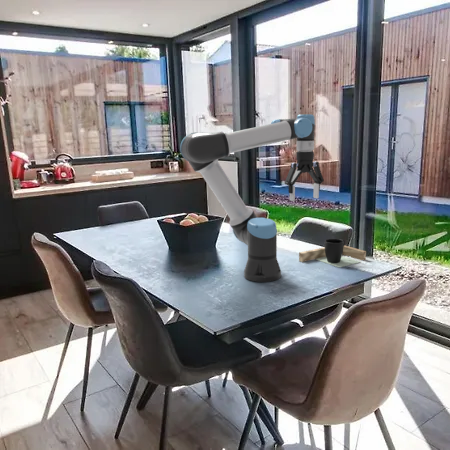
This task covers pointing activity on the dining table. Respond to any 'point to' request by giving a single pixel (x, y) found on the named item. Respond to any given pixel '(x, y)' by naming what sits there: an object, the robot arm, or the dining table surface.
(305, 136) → the robot arm
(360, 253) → the tan bent bar
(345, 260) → the mat
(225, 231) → the dining table surface
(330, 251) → the mug
